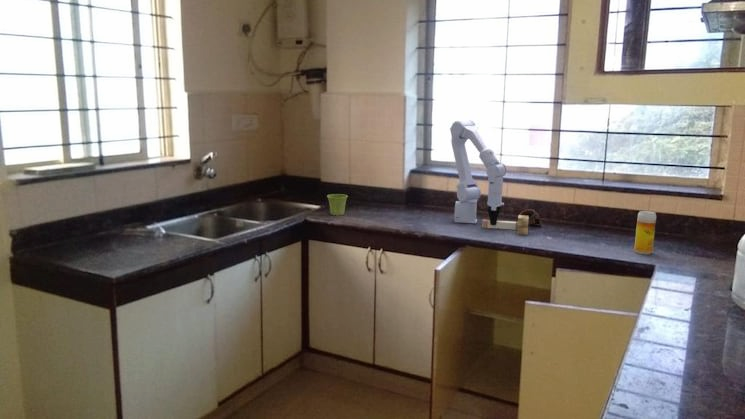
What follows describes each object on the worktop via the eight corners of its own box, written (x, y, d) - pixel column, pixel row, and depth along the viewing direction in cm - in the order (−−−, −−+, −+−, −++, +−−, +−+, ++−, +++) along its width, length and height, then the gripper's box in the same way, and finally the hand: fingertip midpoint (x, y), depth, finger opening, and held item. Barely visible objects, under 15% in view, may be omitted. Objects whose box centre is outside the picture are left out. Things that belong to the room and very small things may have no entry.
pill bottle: (650, 255, 215) (655, 214, 212) (632, 253, 218) (636, 212, 215) (653, 252, 220) (657, 211, 217) (635, 249, 223) (639, 209, 220)
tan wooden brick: (517, 234, 244) (518, 218, 243) (517, 230, 251) (518, 214, 250) (527, 234, 243) (528, 219, 242) (527, 230, 250) (528, 215, 249)
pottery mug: (546, 229, 256) (541, 214, 252) (525, 238, 257) (520, 223, 253) (536, 216, 267) (530, 201, 263) (516, 225, 267) (510, 210, 264)
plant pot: (346, 216, 272) (347, 197, 270) (326, 216, 272) (326, 197, 270) (348, 212, 281) (348, 194, 279) (327, 212, 281) (327, 193, 280)
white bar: (482, 227, 255) (482, 220, 255) (482, 226, 258) (482, 219, 257) (518, 229, 252) (519, 223, 251) (518, 228, 254) (519, 221, 254)
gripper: (504, 195, 245) (502, 228, 247) (505, 190, 259) (503, 221, 261) (486, 194, 246) (485, 227, 249) (488, 189, 260) (486, 220, 263)
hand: (493, 224), depth 255 cm, fingers open, 3 cm apart
